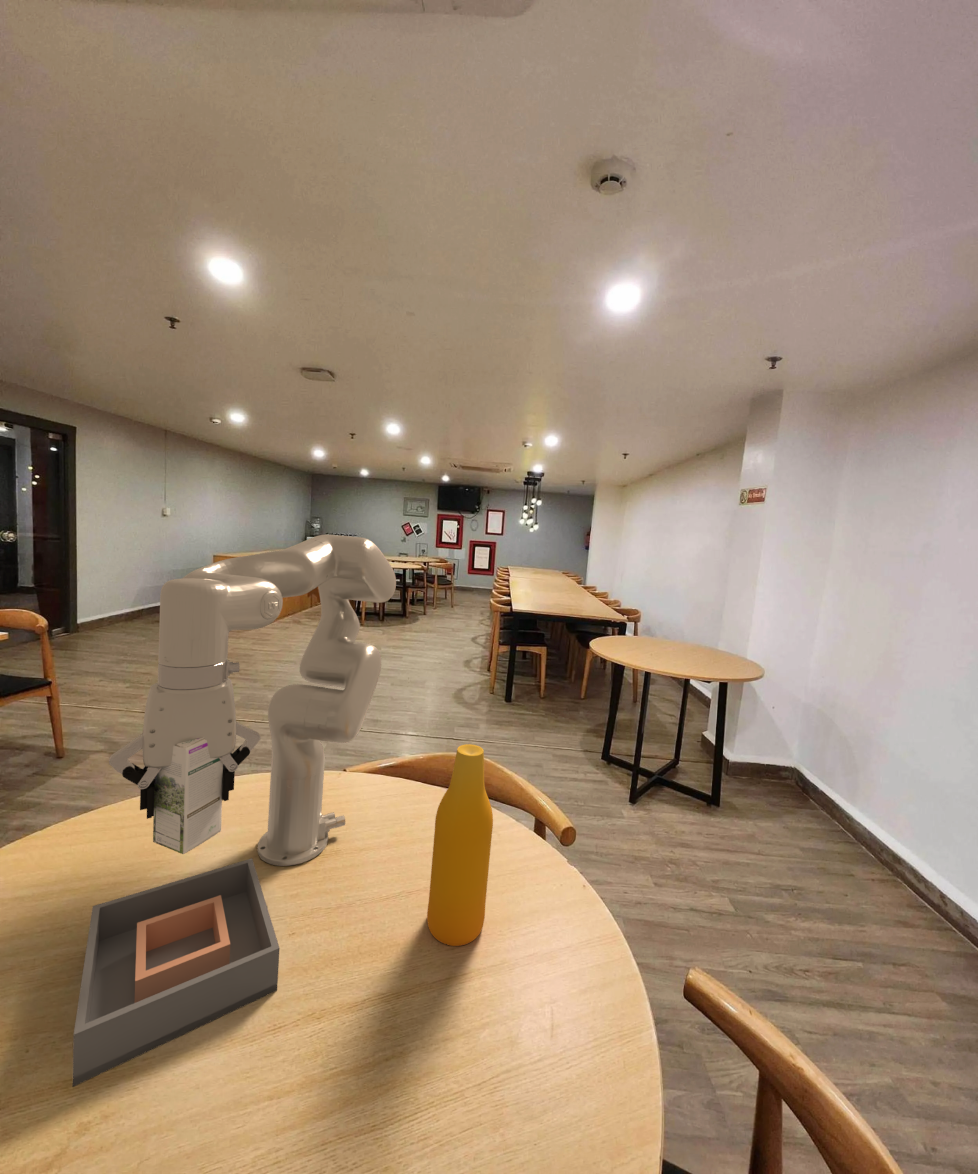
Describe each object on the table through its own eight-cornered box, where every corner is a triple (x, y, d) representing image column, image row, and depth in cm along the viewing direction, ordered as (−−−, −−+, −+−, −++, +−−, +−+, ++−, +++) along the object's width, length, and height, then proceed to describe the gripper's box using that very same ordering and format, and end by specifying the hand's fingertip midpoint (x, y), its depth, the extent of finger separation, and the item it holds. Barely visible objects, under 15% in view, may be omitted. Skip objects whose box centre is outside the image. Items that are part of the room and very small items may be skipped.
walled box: (250, 892, 76) (252, 858, 75) (277, 990, 60) (279, 948, 59) (91, 946, 64) (92, 906, 63) (72, 1087, 48) (73, 1035, 47)
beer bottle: (493, 917, 75) (509, 748, 73) (464, 959, 67) (481, 770, 65) (447, 893, 79) (460, 733, 77) (414, 930, 71) (429, 751, 69)
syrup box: (223, 831, 62) (227, 729, 61) (181, 857, 57) (185, 745, 56) (192, 819, 64) (196, 720, 63) (149, 844, 59) (152, 735, 57)
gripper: (261, 662, 67) (256, 776, 68) (108, 672, 56) (104, 807, 58) (272, 675, 61) (266, 801, 62) (103, 690, 50) (99, 840, 52)
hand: (188, 803), depth 60 cm, fingers closed on syrup box, 7 cm apart
